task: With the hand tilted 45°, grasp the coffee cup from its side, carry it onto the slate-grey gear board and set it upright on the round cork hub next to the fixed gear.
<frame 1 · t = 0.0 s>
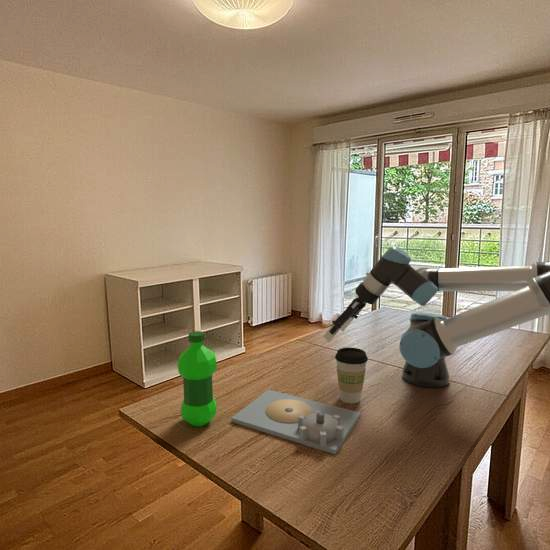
hand: (333, 333, 134), 15 cm above the table, tool tilted 35°, fingers open, 13 cm apart
gear board: (296, 419, 107), on the table
plastic bottle: (199, 421, 106), on the table
coffee cup: (350, 399, 119), on the table
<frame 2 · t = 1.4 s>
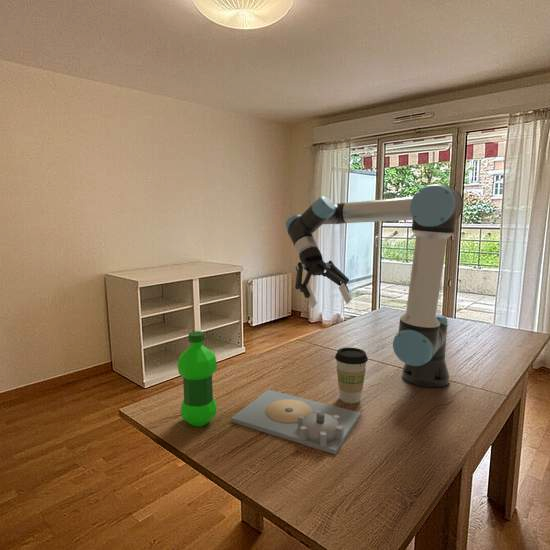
hand: (332, 303, 125), 28 cm above the table, tool tilted 45°, fingers open, 13 cm apart
nothing on the table moved.
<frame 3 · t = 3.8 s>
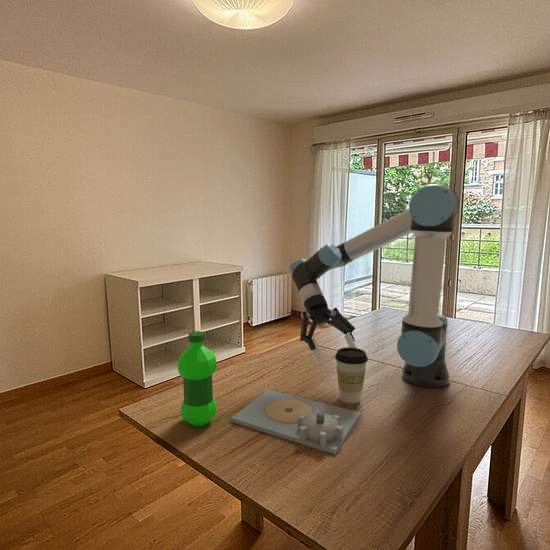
hand: (337, 355, 122), 12 cm above the table, tool tilted 45°, fingers open, 13 cm apart
nothing on the table moved.
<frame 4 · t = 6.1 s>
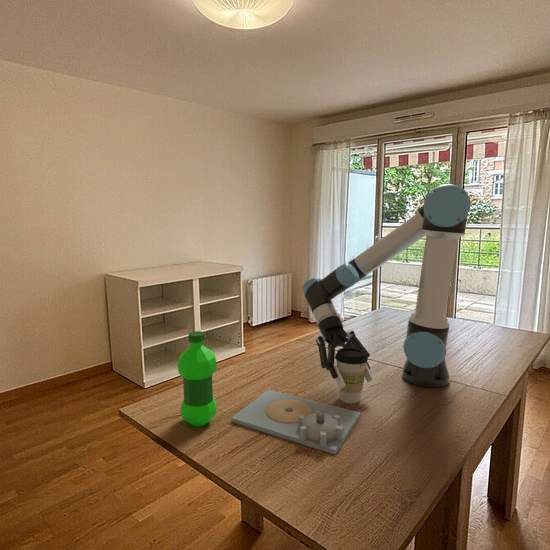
hand: (357, 384, 116), 6 cm above the table, tool tilted 45°, fingers closed on coffee cup, 10 cm apart
coffee cup: (350, 399, 119), on the table, touching gripper
everything else where it was.
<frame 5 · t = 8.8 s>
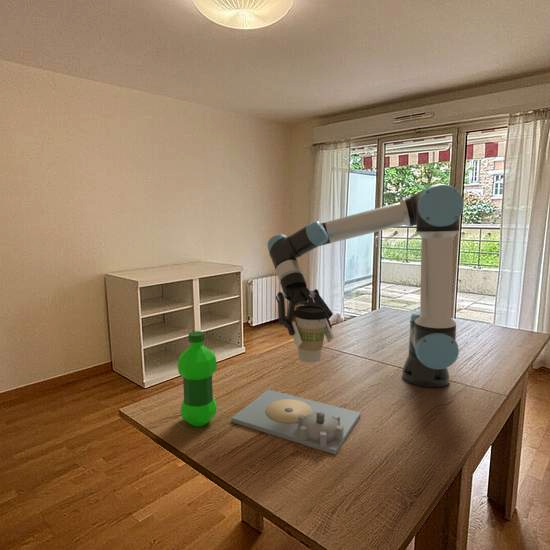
hand: (315, 342, 109), 20 cm above the table, tool tilted 45°, fingers closed on coffee cup, 10 cm apart
coffee cup: (309, 359, 113), point 14 cm above the table, touching gripper
everything else where it was.
when the fingers open (9 cm above the table, at t = 11.8 s): coffee cup drops 1 cm, resting on gear board.
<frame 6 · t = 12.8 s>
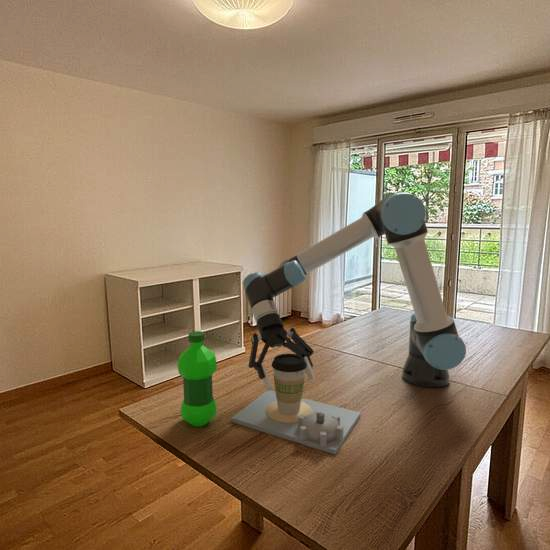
hand: (291, 384, 107), 10 cm above the table, tool tilted 45°, fingers open, 13 cm apart
coffee cup: (288, 410, 110), point 1 cm above the table, touching gear board
everything else where it was.
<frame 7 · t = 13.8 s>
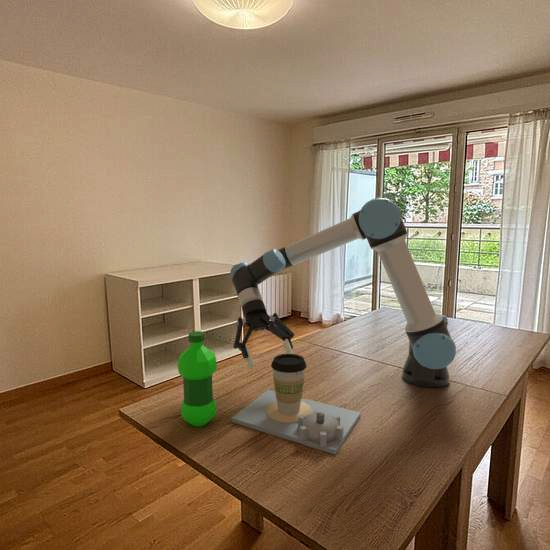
hand: (272, 363, 117), 12 cm above the table, tool tilted 45°, fingers open, 13 cm apart
nothing on the table moved.
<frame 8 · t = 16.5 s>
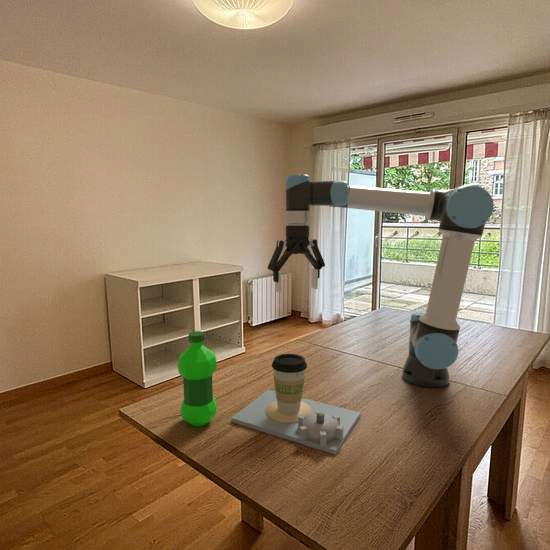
hand: (296, 290, 127), 32 cm above the table, tool pointing down, fingers open, 13 cm apart
nothing on the table moved.
at the end: coffee cup inside the target area (0.1 cm from its centre), point 1.4 cm above the table; coffee cup tilted 1°; the gripper is holding nothing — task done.
